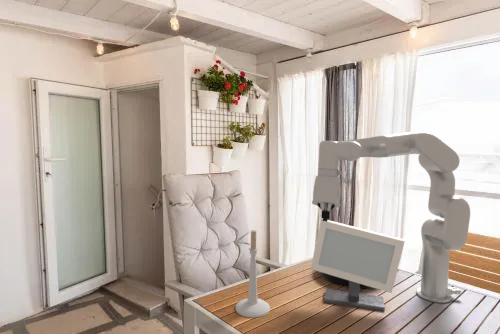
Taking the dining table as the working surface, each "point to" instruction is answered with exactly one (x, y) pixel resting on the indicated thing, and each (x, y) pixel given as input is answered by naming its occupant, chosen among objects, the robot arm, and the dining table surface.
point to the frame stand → (354, 298)
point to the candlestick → (252, 289)
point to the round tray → (340, 281)
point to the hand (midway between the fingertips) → (325, 220)
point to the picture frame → (357, 255)
